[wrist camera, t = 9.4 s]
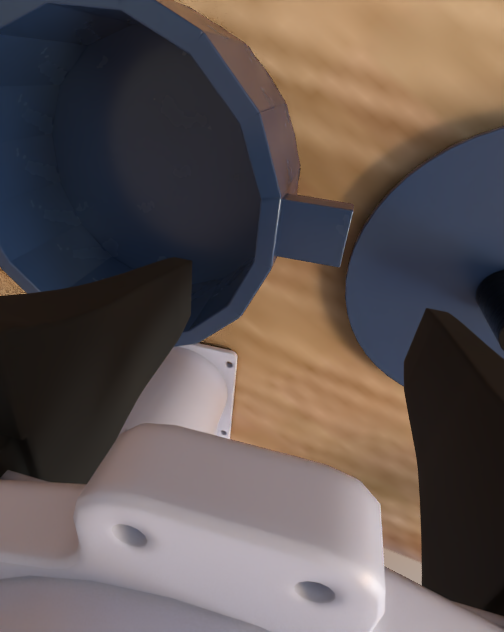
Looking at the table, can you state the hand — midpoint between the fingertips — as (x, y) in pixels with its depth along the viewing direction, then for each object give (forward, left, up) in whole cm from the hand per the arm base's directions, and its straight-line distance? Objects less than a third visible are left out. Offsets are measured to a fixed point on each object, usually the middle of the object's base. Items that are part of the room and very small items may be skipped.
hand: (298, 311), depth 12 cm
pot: (+1, +9, -10) cm, 14 cm away
